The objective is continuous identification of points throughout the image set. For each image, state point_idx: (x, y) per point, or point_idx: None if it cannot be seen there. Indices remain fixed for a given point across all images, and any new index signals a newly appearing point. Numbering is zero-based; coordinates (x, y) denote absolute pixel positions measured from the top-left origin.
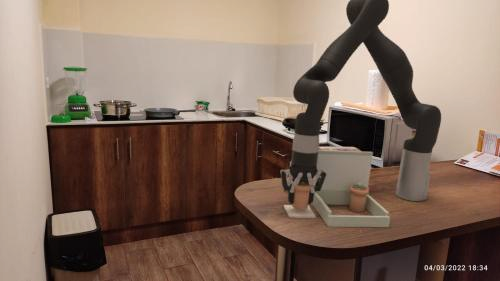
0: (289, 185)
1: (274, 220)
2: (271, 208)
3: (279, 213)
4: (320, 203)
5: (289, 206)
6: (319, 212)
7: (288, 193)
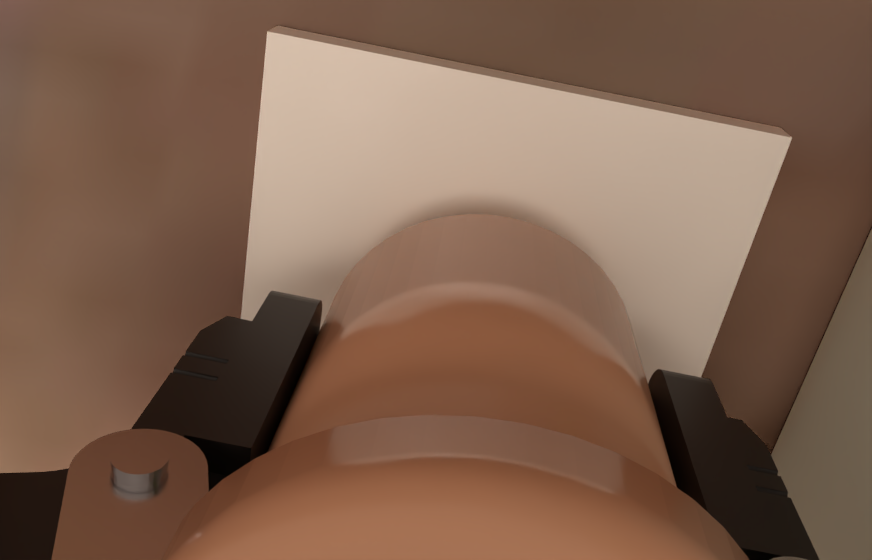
0: (57, 545)
1: (11, 466)
2: (24, 59)
3: (129, 279)
4: (859, 550)
5: (362, 121)
6: (795, 434)
7: (144, 424)
